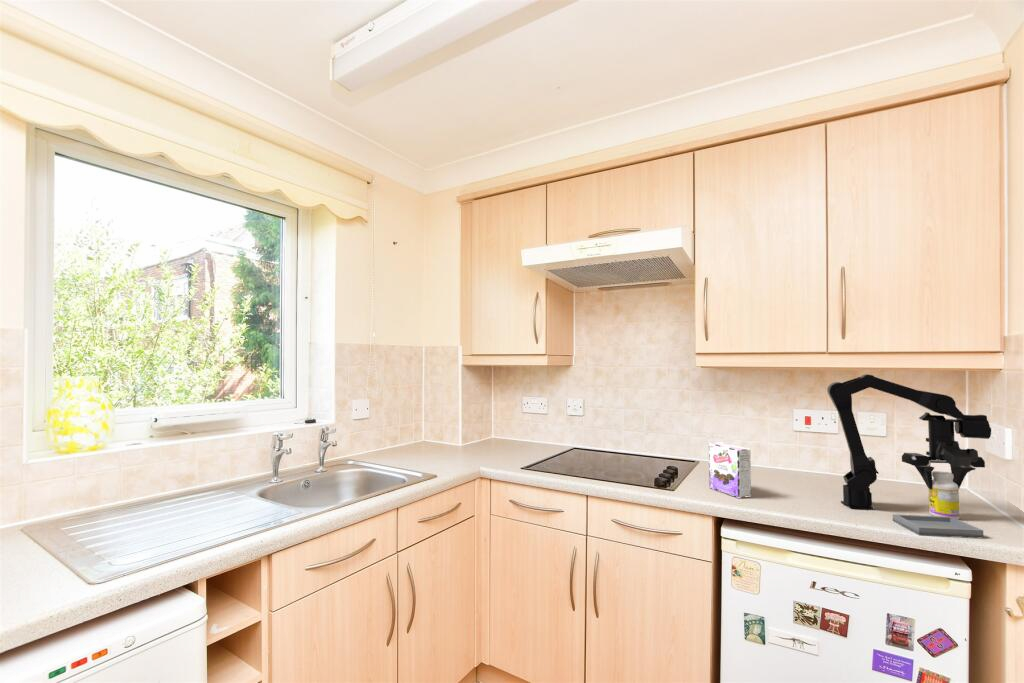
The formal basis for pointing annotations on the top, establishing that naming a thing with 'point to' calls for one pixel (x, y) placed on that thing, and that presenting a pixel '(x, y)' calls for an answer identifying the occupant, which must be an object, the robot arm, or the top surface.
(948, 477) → the supplement bottle
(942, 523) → the tray
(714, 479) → the candy box
